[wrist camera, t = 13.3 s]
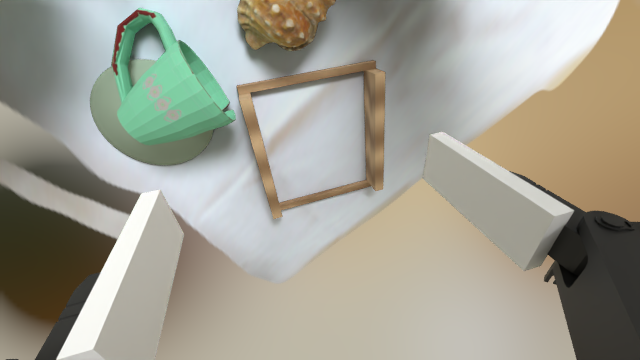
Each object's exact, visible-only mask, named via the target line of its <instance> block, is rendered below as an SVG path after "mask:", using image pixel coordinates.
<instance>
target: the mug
mask: <svg viewBox="0 0 640 360" xmlns="http://www.w3.org/2000/svg"><path fill="white" fill-rule="evenodd" d="M148 23H153V25H154V26H155V28H156V29H157V30H158V32H159V35H160V37H161V40H162V43H163V46H164V48H165V51H166V52H165V53H164V54H163V55H162V56H161V57H160V58H159V59H158V60H157V61H156V62H155V63H154V65H152V66H151V67H150V68H149V69H148V70H147V71H146V72H145V73H144V74H143V75H142V76H141V77H140V79H139V80H138V81H137V83H136V84H135V85H134V87H133V85H132V82H131V78H130V74H129V70H128V64H129V60H130V55H131V51H132V47H133V42H134V38H135V34H136V33H137V32H138V31H139V30H141V29H142V28H143V27H145V26H146V25H147V24H148ZM111 65H112V69H113V73H114V77H115V81H116V84H117V88H118V92H119V96H120V100H121V106H120V107H119V109H118V111H117V117H118V119H119V122H120V123H121V125H122V126H123V128H124V129H125V130H126V131H127V133H128V134H130V135H131V136H132V137H133V138H134V139H135V140H137V141H138V142H140V143H142V144H144V145H149V146H150V145H156V144H162V143H168V142H173V141H177V140H181V139H185V138H189V137H193V136H195V135H198V134H201V133H203V132H206V131H209V130H212V129H216V128H219V127H222V126H226V125H228V124H230V123H232V122H233V121H235V120H236V117H235V113H234V111H233V110H229V111H226V112H223V110H224V109H225V108H227V106H228V105H229V103H230V102H229V100H228V99H227V97H226V95H225V94H224V92H223V90H222V89H221V87H220V86H219V84H218V83H217V81H216V80H215V78H214V77H213V75H212V74H211V73H210V71H209V70H208V68H207V67H206V66H205V65H204V63H203V62H202V61H201V60H200V58H199V57H198V56H197V55H196V54H195V53H194V51H193V50H192V49H191V48H190V47H189V46H188V45H187V44H185V43H184V42H182V41H181V40H179V41H177V42H176V39H175V37H174V34H173V32H172V30H171V28H170V27H169V25H168V23H167V22H166V20H165V19H164V17H163V16H162V15H161V14H160V13H157V12H154V11H150V10H146V9H142V8H138V9H137V10H136V11H135V12H134V13H132V14H131V15H130V16H129V17H128V18H126V19H125V20H124V21H123V22H122V23H121V24H119V25H118V26H117V32H116V38H115V45H114V51H113V57H112V64H111Z"/></svg>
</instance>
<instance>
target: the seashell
mask: <svg viewBox="0 0 640 360" xmlns="http://www.w3.org/2000/svg"><path fill="white" fill-rule="evenodd" d="M335 1H336V0H240V3H239V5H238V8H237V13H238V22H239V24H240V25H241V27H242V29H243V30H244V31H245V33H246V35H245V39H246V42H247V43H248V44H249V45H250V47H251V48H252V49H254V50H257V49H259V48H261V47H262V46H264V45H265V44H267V43H272V42H274V43H277V44H278V45H279V46H280V47H281V48H283V49H286V50H288V51H298V50H301V49H302V48H304V47H305V46H307V45H308V44H310V43H311V42H312V41H313V40H314V37H315V34H316V31H317V27H318V23H319V22H320V21H325V20H326V13H327V10H328V8H329V7H331V6H332V5H334V4H335Z"/></svg>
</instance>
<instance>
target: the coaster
mask: <svg viewBox="0 0 640 360" xmlns="http://www.w3.org/2000/svg"><path fill="white" fill-rule="evenodd" d="M155 62H156V61H155V60H149V59H134V60H129V64H128V70H129V74H130V78H131V82H132V85H133V87H134V85H135V84H136V83H137V81H138V80H139V79H140V77H141V76H142V75H143V74H144V73H145V72H146V71H147V70H148V69H149V68H150V67H151V66H152V65H154V63H155ZM120 106H121V100H120V96H119V92H118V88H117V84H116V81H115V77H114V73H113V69H112V67H110V68H108V69H107V70H105V71H104V72H103V73H102V74H101V75H100V76H99V77H98V79H97V80H96V82H95V84H94V86H93V88H92V91H91V97H90V108H91V113H92V116H93V119H94V122H95V124H96V126H97V127H98V129H99V131H100V132H101V133H102V135H103V136H104V137H105V138H106V139H107V141H108V142H109V143H111V144H112V145H113V146H114V147H115V148H116V149H118V150H119V151H121V152H122V153H124V154H126V155H127V156H129V157H131V158H134V159H136V160H139V161H142V162H145V163H149V164H155V165H174V164H179V163H183V162H186V161H188V160H191V159H193V158H194V157H196V156H197V155H199V154H200V153H201V152H202V151H203V150H204V149H205V148H206V147H207V145H208V144H209V142H210V140H211V138H212V134H213V130H214V129H212V130H209V131H206V132H203V133H201V134H198V135H195V136H193V137H189V138H185V139H181V140H177V141H173V142H168V143H162V144H156V145H150V146H149V145H144V144H142V143H140V142H138V141H137V140H135V139H134V138H133V137H132V136H131V135H130V134H128V133H127V131H126V130H125V129H124V128H123V126H122V125H121V123H120V122H119V119H118V117H117V111H118V109H119V107H120Z"/></svg>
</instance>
